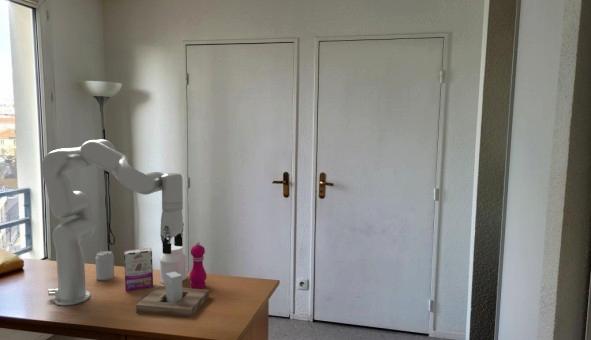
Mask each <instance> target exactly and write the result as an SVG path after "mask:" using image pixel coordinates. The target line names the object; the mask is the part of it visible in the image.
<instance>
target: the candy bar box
mask: <svg viewBox="0 0 591 340" xmlns="http://www.w3.org/2000/svg"><path fill="white" fill-rule="evenodd" d="M152 250H153V249H152V248H151V247H148V248H147V247H146V248H138V249H130V250H128V249H127V250H123V261H124V262H123V263H124V264H123V265H124V285H125V288H124V289H125V292H131V291H132V292H133V291H137V290H139V291H140V290H144V289H145V290H146V289H152V288H154V274H153V273H154V271H153V270H154V269H153V268H154V267H153V251H152Z"/></svg>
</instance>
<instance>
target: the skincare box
mask: <svg viewBox="0 0 591 340" xmlns="http://www.w3.org/2000/svg"><path fill="white" fill-rule="evenodd" d="M165 287H166V303H178V302H179V301H180V300H181V299H182V288H183V281H182V275H180V274H179V273H177V272H171V273H166V284H165Z"/></svg>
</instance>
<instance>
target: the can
mask: <svg viewBox="0 0 591 340" xmlns="http://www.w3.org/2000/svg"><path fill="white" fill-rule="evenodd" d="M114 257H115V256H114V254H113V251H110V250H104V251H103V250H102V251H99V252H97V253H96V256H95V258H94V259H95V278H96V279H97V280H98V281H101V282H103V281H109V280H111V279H113V278H114V277H115V259H114Z"/></svg>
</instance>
